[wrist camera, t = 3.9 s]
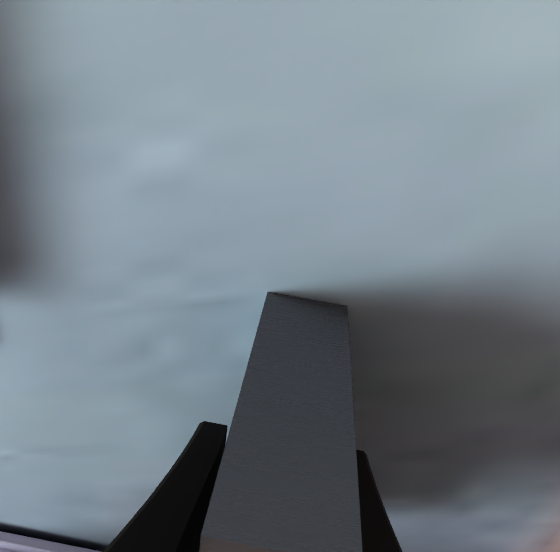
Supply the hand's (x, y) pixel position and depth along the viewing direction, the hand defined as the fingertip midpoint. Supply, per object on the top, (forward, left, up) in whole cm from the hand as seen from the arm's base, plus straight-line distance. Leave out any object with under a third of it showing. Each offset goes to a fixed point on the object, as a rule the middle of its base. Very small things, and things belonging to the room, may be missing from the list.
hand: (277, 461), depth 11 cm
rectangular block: (0, 0, -2) cm, 2 cm away
